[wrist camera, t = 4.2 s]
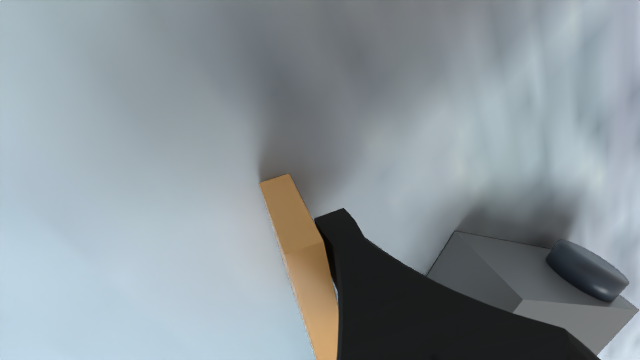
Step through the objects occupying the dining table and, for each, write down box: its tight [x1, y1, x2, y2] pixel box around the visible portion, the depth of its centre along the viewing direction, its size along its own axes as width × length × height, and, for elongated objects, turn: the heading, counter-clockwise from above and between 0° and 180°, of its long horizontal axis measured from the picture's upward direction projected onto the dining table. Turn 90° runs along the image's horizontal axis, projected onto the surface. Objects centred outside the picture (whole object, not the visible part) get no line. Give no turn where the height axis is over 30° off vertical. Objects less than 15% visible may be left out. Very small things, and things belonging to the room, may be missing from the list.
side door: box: [259, 174, 338, 360], centre depth 15 cm, size 15×1×4 cm, turn 10°
